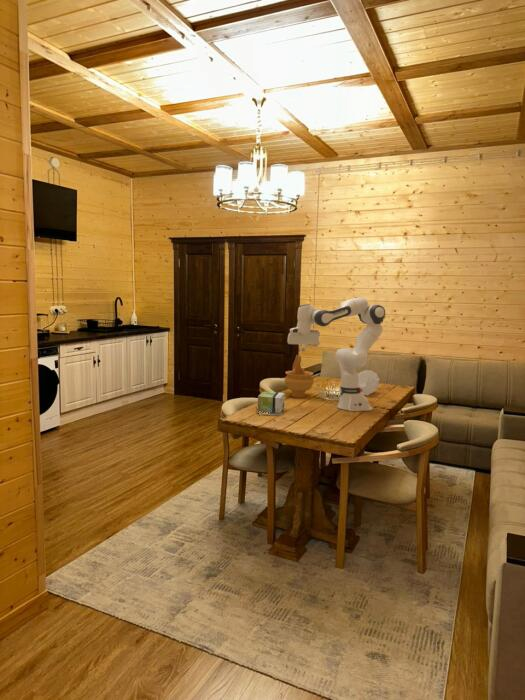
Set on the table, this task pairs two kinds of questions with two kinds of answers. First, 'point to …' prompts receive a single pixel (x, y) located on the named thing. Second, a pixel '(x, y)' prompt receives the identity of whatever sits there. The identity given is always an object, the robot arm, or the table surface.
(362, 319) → the robot arm
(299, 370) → the terracotta urn
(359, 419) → the table surface
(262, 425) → the table surface
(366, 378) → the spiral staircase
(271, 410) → the tea box
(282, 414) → the mat
